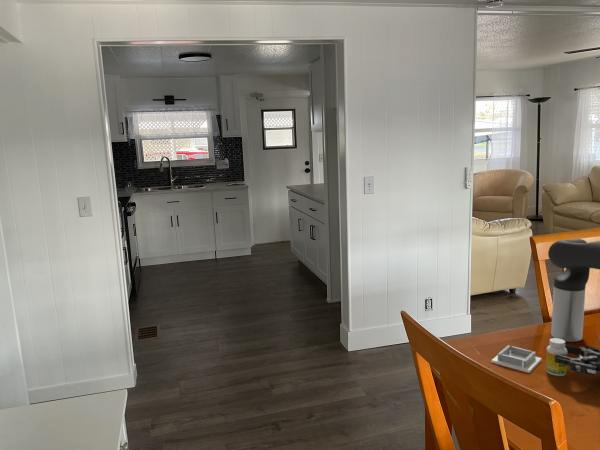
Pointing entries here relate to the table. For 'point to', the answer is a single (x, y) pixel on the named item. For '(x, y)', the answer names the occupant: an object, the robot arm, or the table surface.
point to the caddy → (517, 359)
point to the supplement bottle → (552, 350)
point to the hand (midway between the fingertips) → (559, 353)
